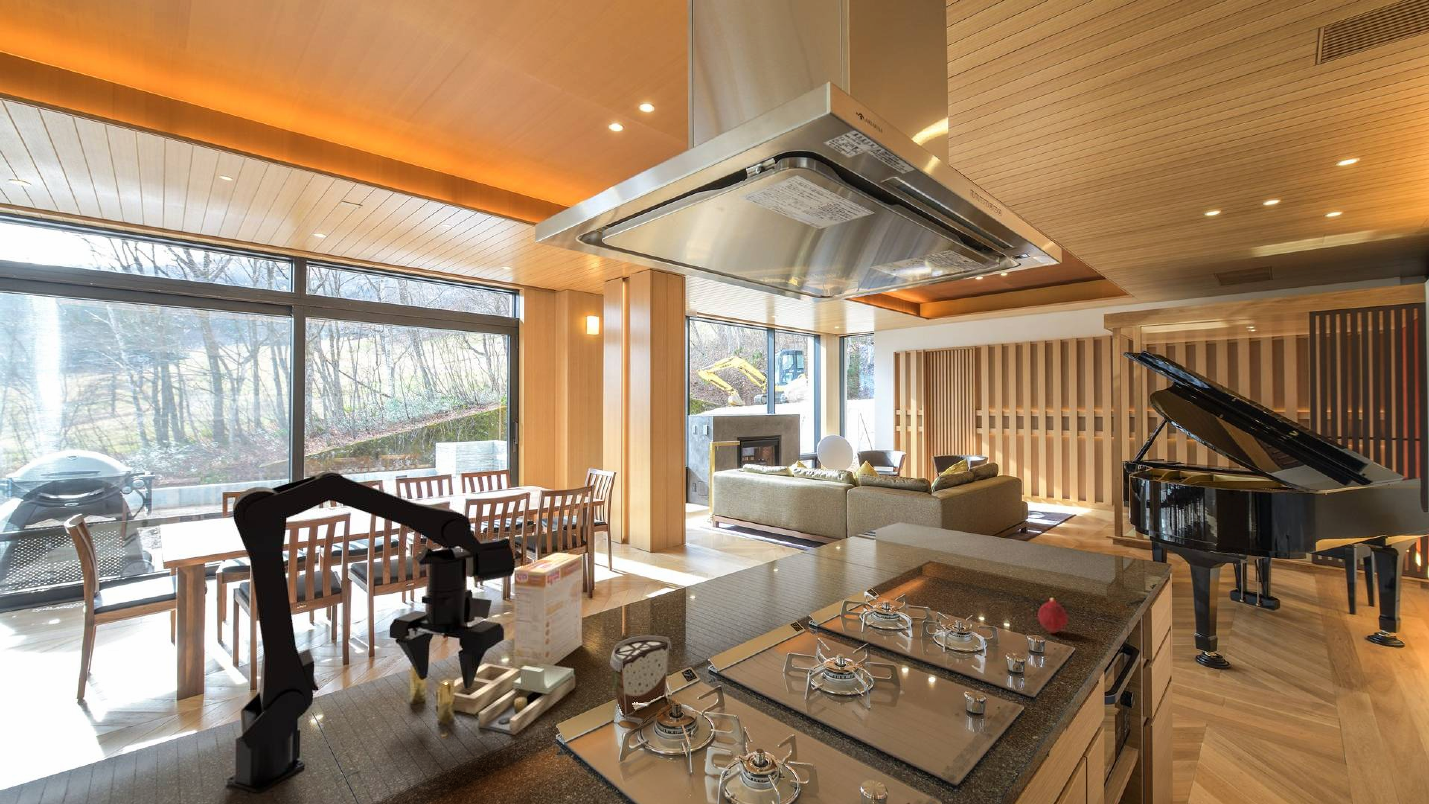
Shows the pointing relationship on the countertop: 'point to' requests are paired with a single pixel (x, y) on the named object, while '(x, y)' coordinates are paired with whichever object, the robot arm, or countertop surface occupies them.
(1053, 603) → the onion
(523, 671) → the lid
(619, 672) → the food container
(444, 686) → the pin
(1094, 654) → the countertop surface
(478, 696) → the socket board
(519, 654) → the coffeecake box
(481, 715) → the housing
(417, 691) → the pin
